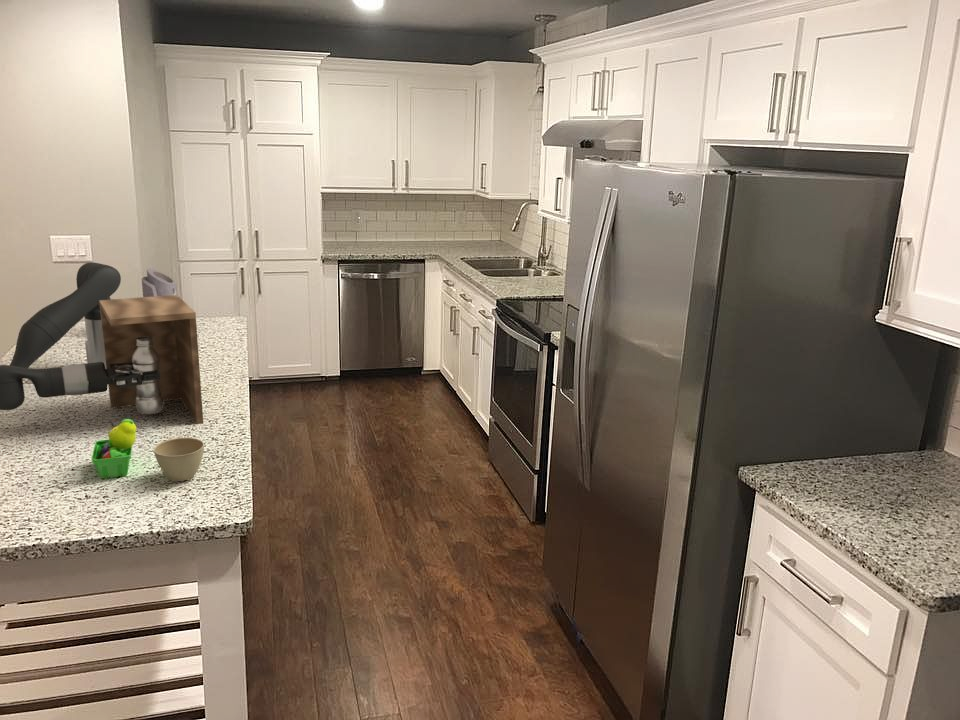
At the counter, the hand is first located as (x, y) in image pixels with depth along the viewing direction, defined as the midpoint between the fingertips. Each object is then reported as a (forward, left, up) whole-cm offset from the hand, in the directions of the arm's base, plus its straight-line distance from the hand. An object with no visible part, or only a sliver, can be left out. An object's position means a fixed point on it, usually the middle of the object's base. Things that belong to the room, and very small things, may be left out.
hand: (156, 371), depth 195 cm
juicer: (-63, +59, -12) cm, 87 cm away
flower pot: (+32, -26, -12) cm, 43 cm away
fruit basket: (+17, -29, -12) cm, 36 cm away
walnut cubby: (-1, 0, -12) cm, 12 cm away
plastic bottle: (-2, -2, -11) cm, 11 cm away
